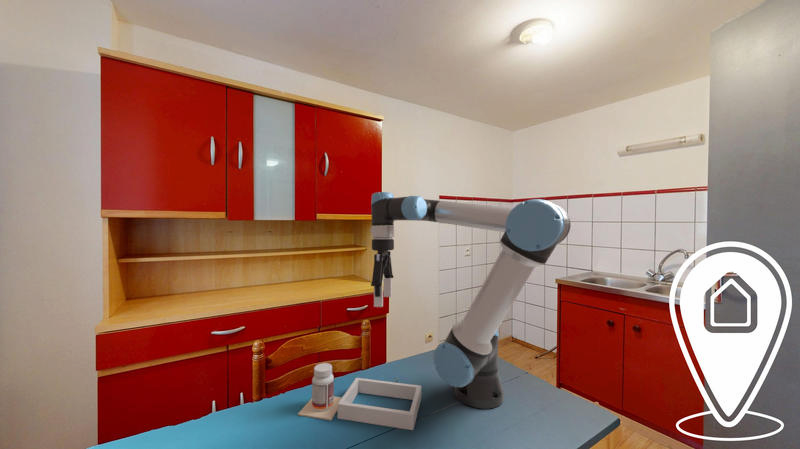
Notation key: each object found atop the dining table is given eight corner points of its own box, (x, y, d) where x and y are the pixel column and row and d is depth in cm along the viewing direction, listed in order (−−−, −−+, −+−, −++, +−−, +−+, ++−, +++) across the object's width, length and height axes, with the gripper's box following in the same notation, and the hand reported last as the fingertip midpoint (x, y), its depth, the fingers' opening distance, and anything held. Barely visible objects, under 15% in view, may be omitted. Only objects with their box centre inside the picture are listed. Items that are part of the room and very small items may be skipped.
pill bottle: (329, 397, 91) (329, 360, 91) (336, 407, 86) (337, 368, 86) (309, 403, 88) (309, 365, 88) (315, 414, 83) (316, 374, 83)
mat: (345, 399, 91) (345, 398, 91) (330, 420, 81) (330, 418, 81) (315, 395, 93) (315, 393, 93) (297, 415, 83) (297, 413, 83)
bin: (421, 398, 91) (421, 385, 91) (413, 430, 77) (413, 415, 77) (356, 390, 96) (356, 377, 96) (337, 418, 82) (337, 403, 82)
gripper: (380, 237, 113) (381, 292, 113) (361, 240, 89) (361, 311, 88) (399, 237, 112) (400, 293, 112) (385, 239, 87) (386, 312, 87)
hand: (383, 301), depth 100 cm, fingers open, 13 cm apart
